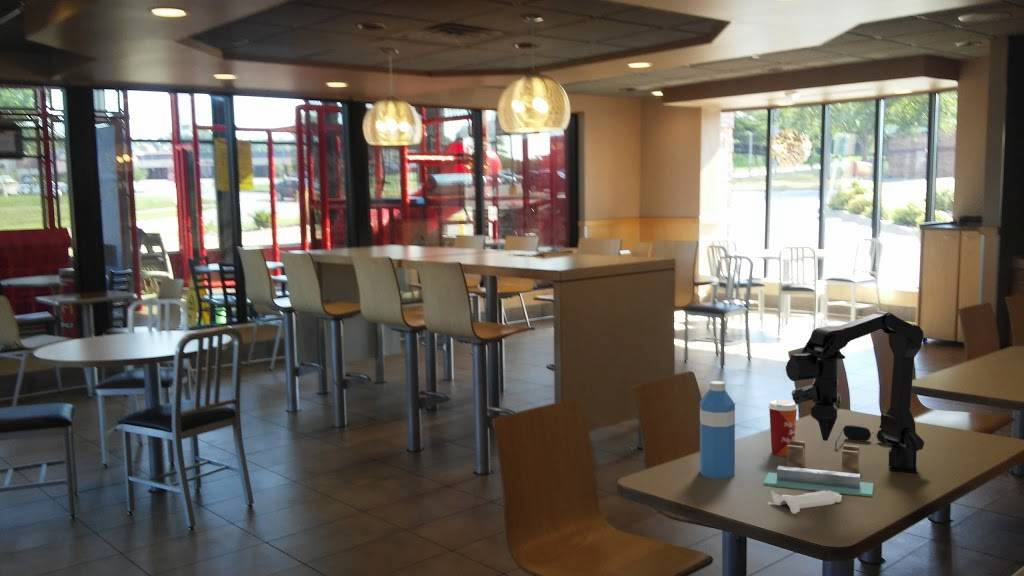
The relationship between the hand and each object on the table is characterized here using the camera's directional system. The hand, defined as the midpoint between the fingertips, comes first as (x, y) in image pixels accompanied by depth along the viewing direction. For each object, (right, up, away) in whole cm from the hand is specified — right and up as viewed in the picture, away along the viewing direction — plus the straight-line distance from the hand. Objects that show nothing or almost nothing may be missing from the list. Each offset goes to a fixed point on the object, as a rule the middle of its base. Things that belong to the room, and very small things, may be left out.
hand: (826, 435), depth 227 cm
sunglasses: (+23, -9, +29) cm, 38 cm away
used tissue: (-11, -15, -18) cm, 26 cm away
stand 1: (-4, -11, +12) cm, 17 cm away
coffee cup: (-3, -10, +25) cm, 27 cm away
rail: (-3, -12, -3) cm, 13 cm away
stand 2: (+9, -11, +7) cm, 16 cm away
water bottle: (-27, -12, +8) cm, 30 cm away
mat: (-3, -12, -3) cm, 13 cm away
